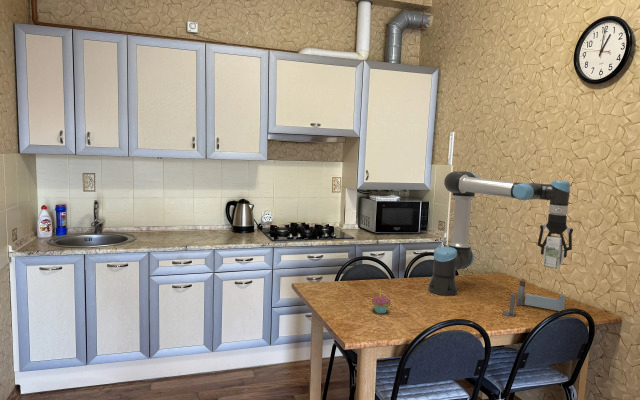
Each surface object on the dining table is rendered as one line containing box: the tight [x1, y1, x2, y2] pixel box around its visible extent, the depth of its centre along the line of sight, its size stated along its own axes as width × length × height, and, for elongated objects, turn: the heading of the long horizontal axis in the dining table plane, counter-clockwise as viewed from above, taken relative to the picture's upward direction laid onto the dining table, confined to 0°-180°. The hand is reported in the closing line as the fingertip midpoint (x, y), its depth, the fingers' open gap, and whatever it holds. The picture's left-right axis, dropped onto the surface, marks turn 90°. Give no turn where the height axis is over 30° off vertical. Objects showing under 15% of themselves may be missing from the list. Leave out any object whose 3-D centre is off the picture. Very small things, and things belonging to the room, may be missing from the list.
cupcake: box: [371, 287, 391, 314], centre depth 195 cm, size 9×8×12 cm
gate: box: [516, 285, 566, 312], centre depth 210 cm, size 20×3×9 cm, turn 63°
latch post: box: [501, 292, 516, 318], centre depth 199 cm, size 5×5×10 cm
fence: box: [519, 279, 526, 288], centre depth 222 cm, size 3×13×9 cm, turn 153°
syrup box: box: [543, 235, 564, 270], centre depth 200 cm, size 6×6×14 cm
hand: (552, 262), depth 200 cm, fingers closed on syrup box, 7 cm apart
